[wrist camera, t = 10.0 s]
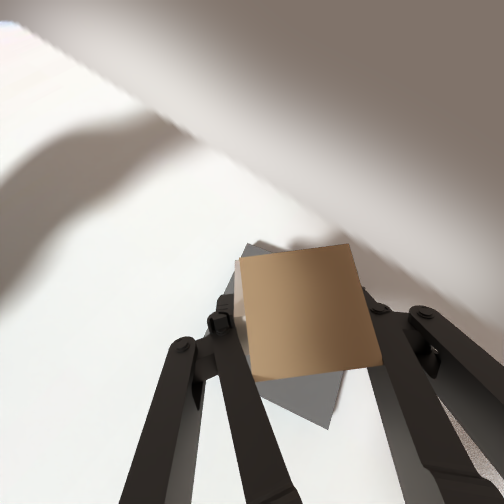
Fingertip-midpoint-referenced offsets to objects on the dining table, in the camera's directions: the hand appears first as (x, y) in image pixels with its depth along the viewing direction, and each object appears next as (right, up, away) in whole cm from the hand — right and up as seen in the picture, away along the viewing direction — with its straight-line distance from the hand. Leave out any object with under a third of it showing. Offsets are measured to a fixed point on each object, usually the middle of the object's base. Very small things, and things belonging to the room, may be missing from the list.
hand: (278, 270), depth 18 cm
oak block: (+1, -5, +2) cm, 5 cm away
